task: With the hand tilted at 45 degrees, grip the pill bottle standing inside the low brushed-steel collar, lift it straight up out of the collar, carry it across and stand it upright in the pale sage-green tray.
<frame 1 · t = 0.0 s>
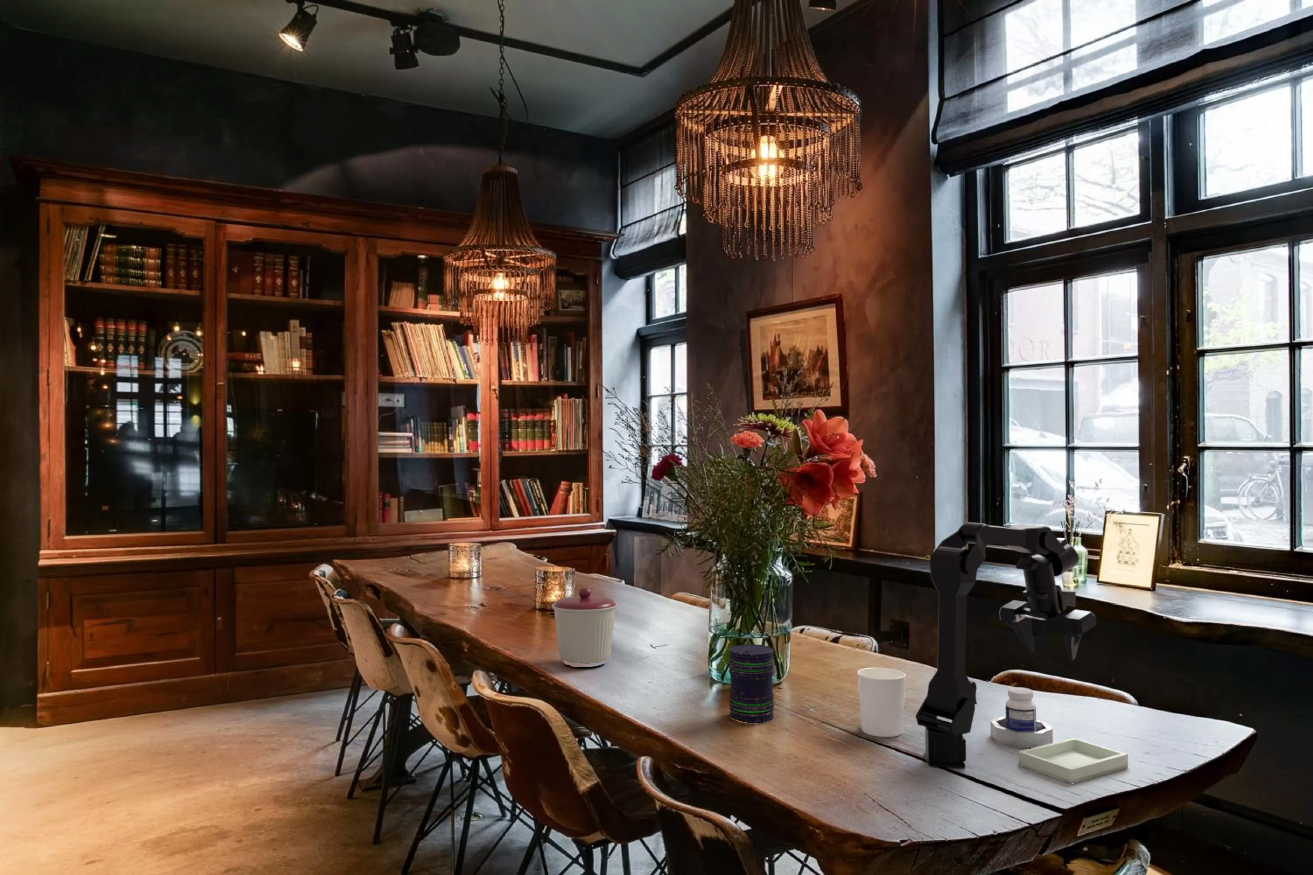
hand: (1052, 655, 187), 15 cm above the table, tool pointing down, fingers open, 9 cm apart
sage tray: (1072, 766, 165), on the table
canister: (585, 664, 247), on the table
candle holder: (881, 731, 187), on the table
storage jar: (751, 718, 197), on the table
steel collar: (1021, 739, 181), on the table
pill bottle: (1021, 740, 181), resting in steel collar
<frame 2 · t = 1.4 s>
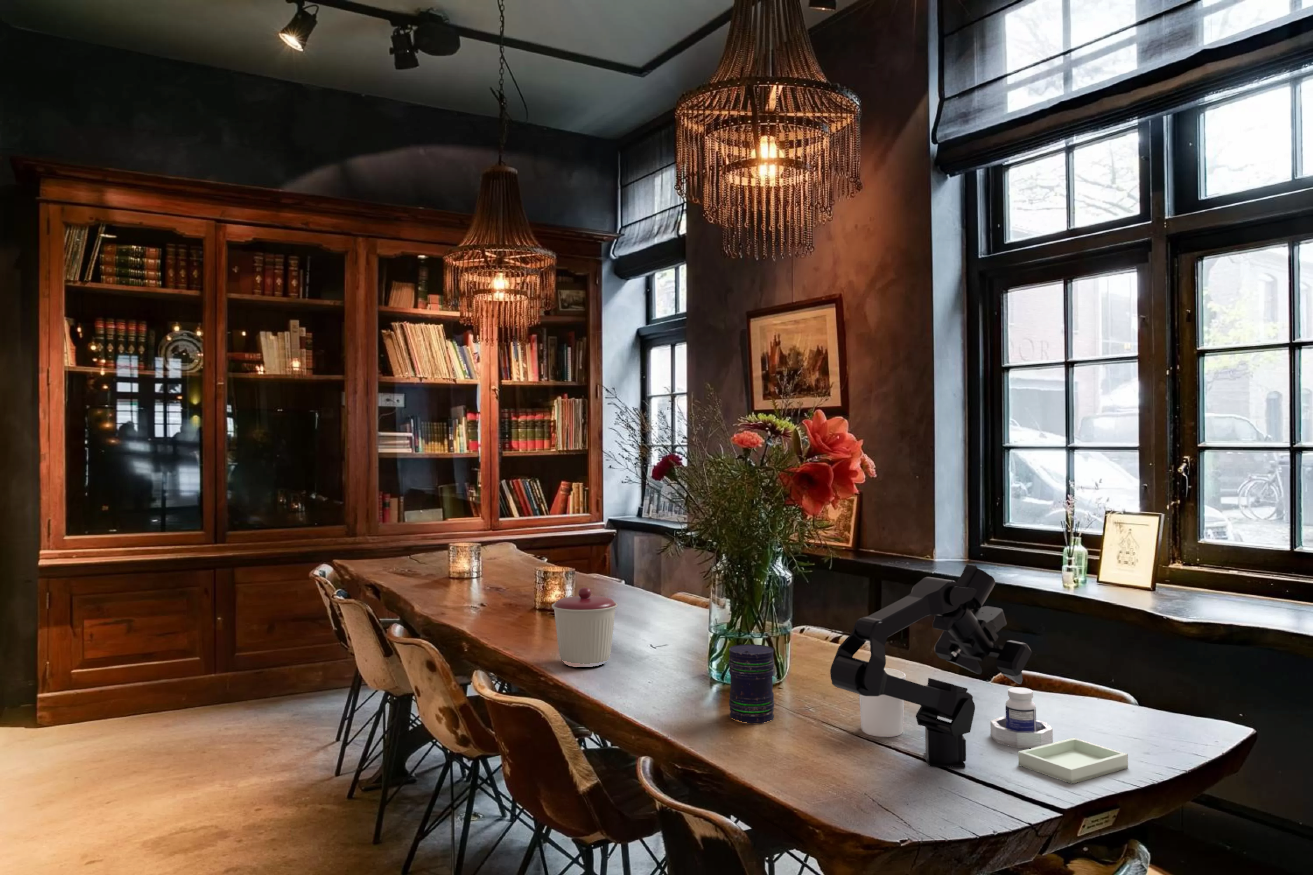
hand: (1000, 677, 177), 13 cm above the table, tool tilted 45°, fingers open, 9 cm apart
nothing on the table moved.
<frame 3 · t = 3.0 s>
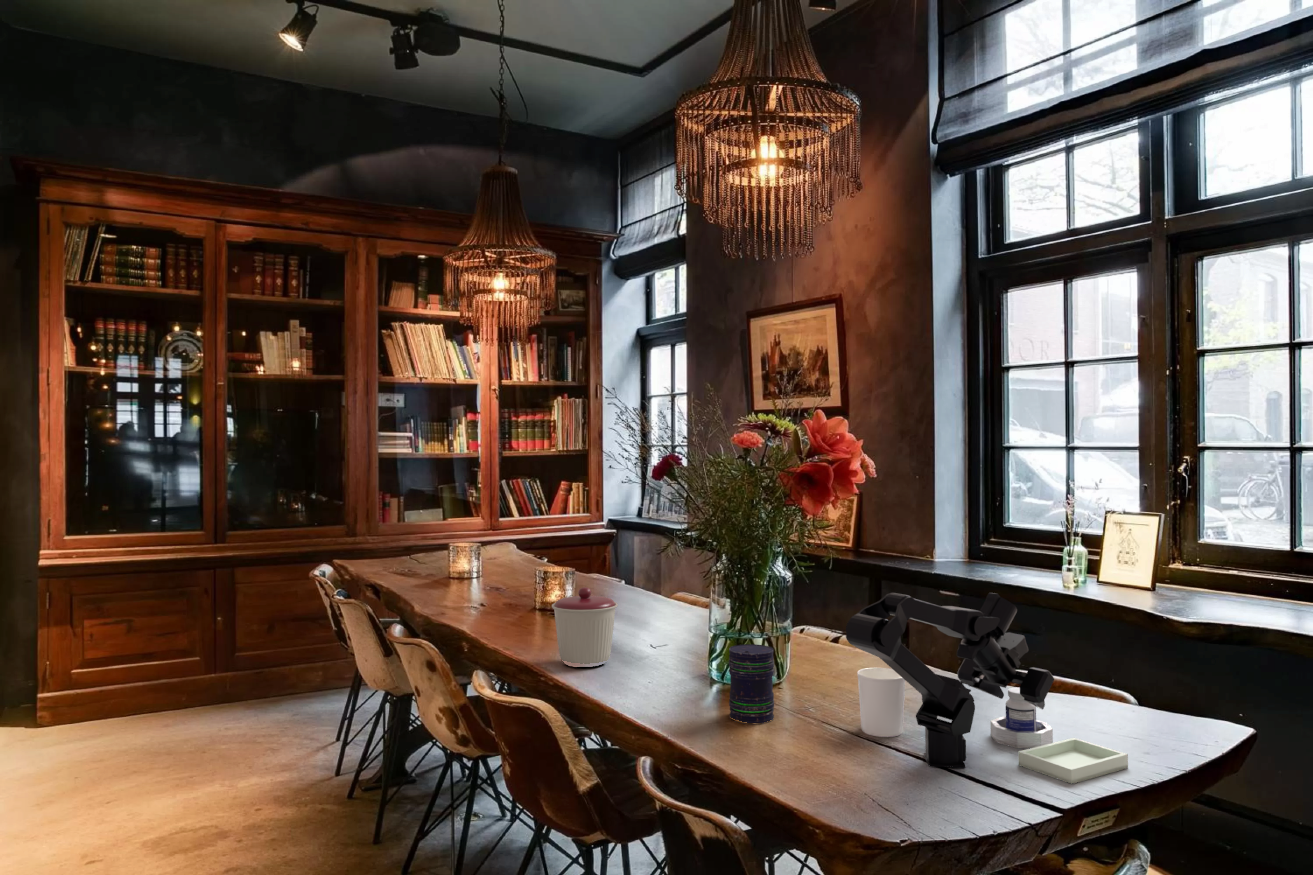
hand: (1022, 701, 181), 7 cm above the table, tool tilted 45°, fingers open, 9 cm apart
nothing on the table moved.
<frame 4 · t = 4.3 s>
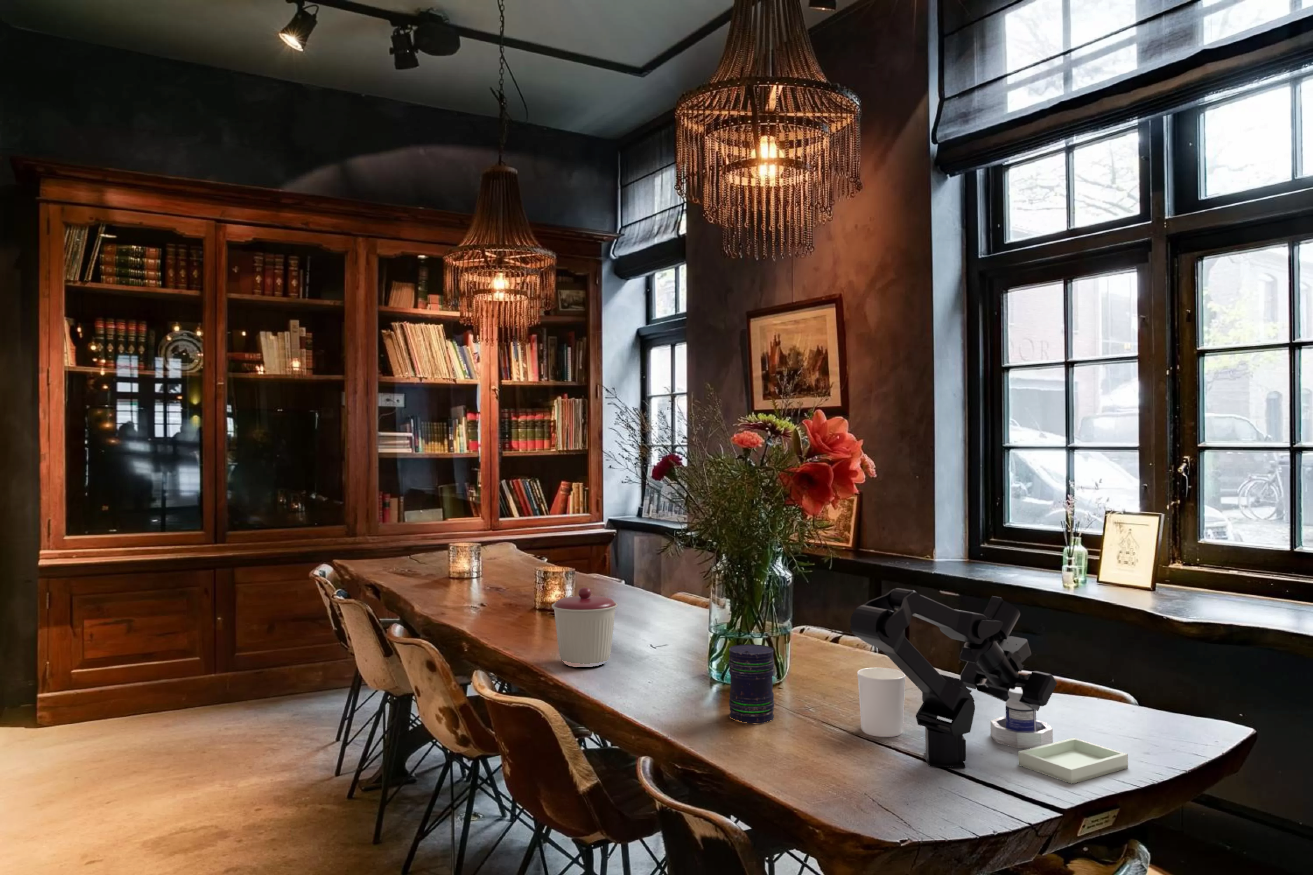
hand: (1024, 705, 182), 7 cm above the table, tool tilted 45°, fingers closed on pill bottle, 6 cm apart
pill bottle: (1021, 740, 181), resting in steel collar, touching gripper
everything else where it was.
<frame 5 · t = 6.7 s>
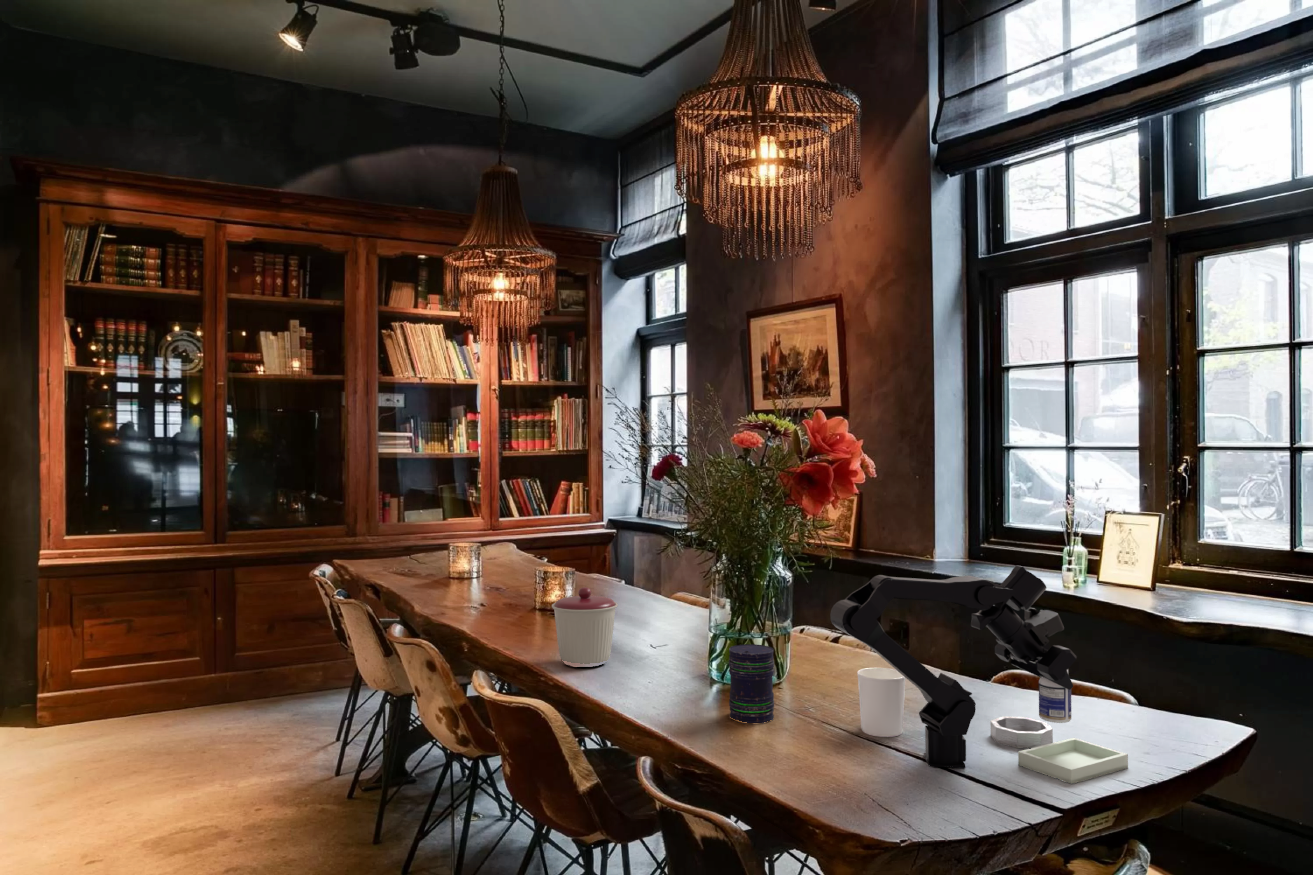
hand: (1061, 683, 172), 13 cm above the table, tool tilted 45°, fingers closed on pill bottle, 6 cm apart
pill bottle: (1054, 720, 172), point 6 cm above the table, touching gripper
everything else where it was.
when the fingers open (8 cm above the table, at t = 9.3 s): pill bottle drops 1 cm, resting on sage tray.
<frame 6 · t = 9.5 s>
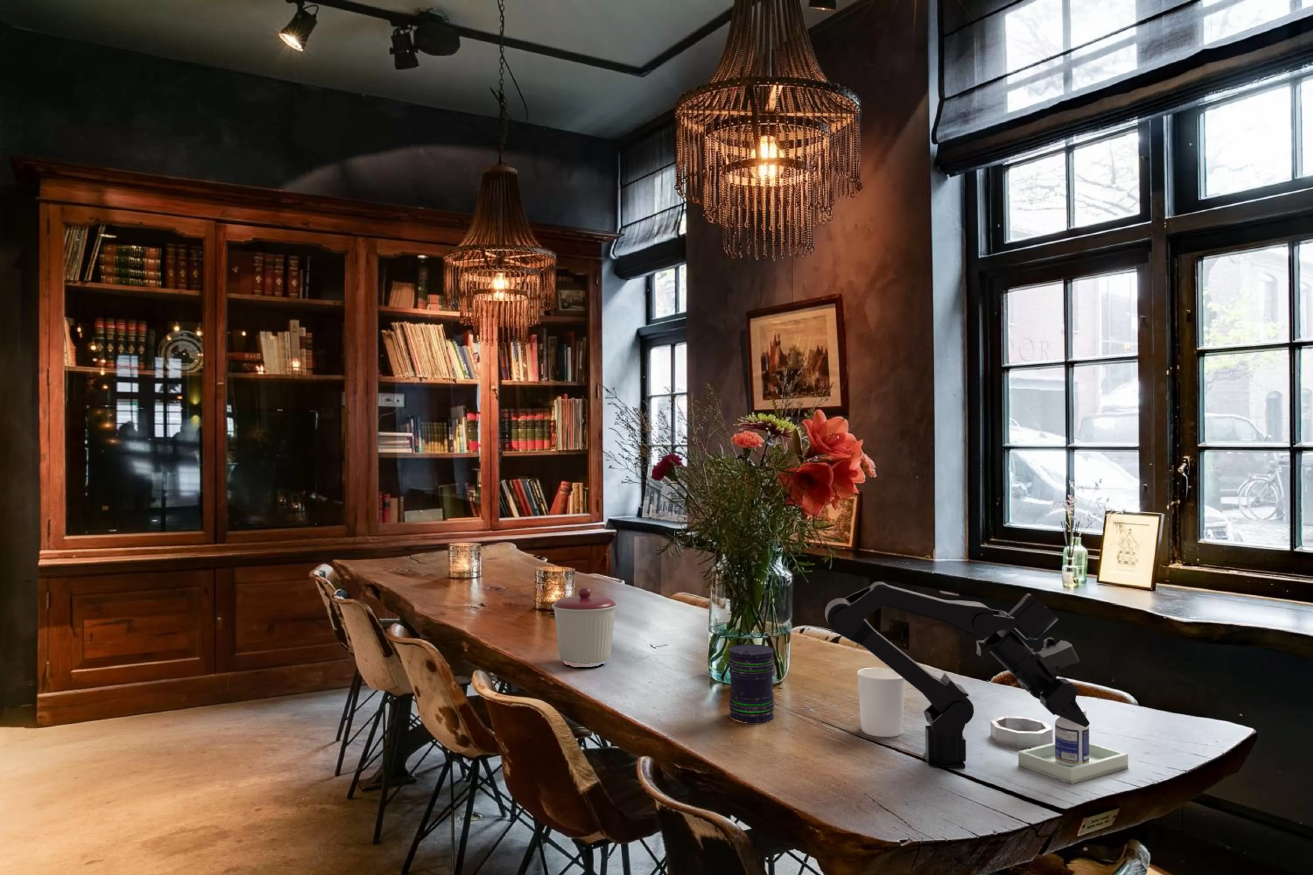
hand: (1080, 718, 165), 9 cm above the table, tool tilted 45°, fingers open, 7 cm apart
pill bottle: (1071, 763, 165), resting on sage tray
everything else where it was.
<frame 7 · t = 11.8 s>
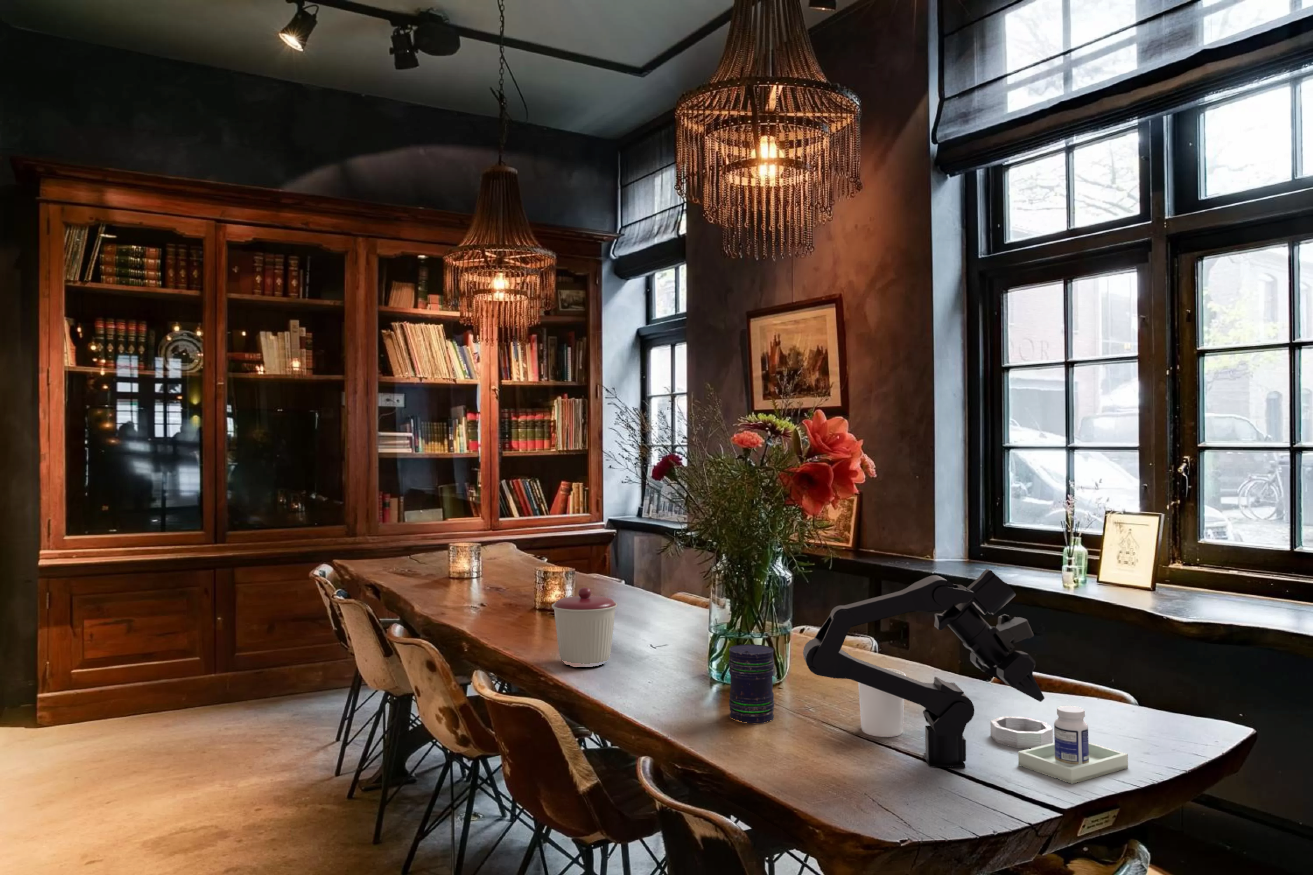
hand: (1032, 694, 167), 13 cm above the table, tool tilted 40°, fingers open, 9 cm apart
nothing on the table moved.
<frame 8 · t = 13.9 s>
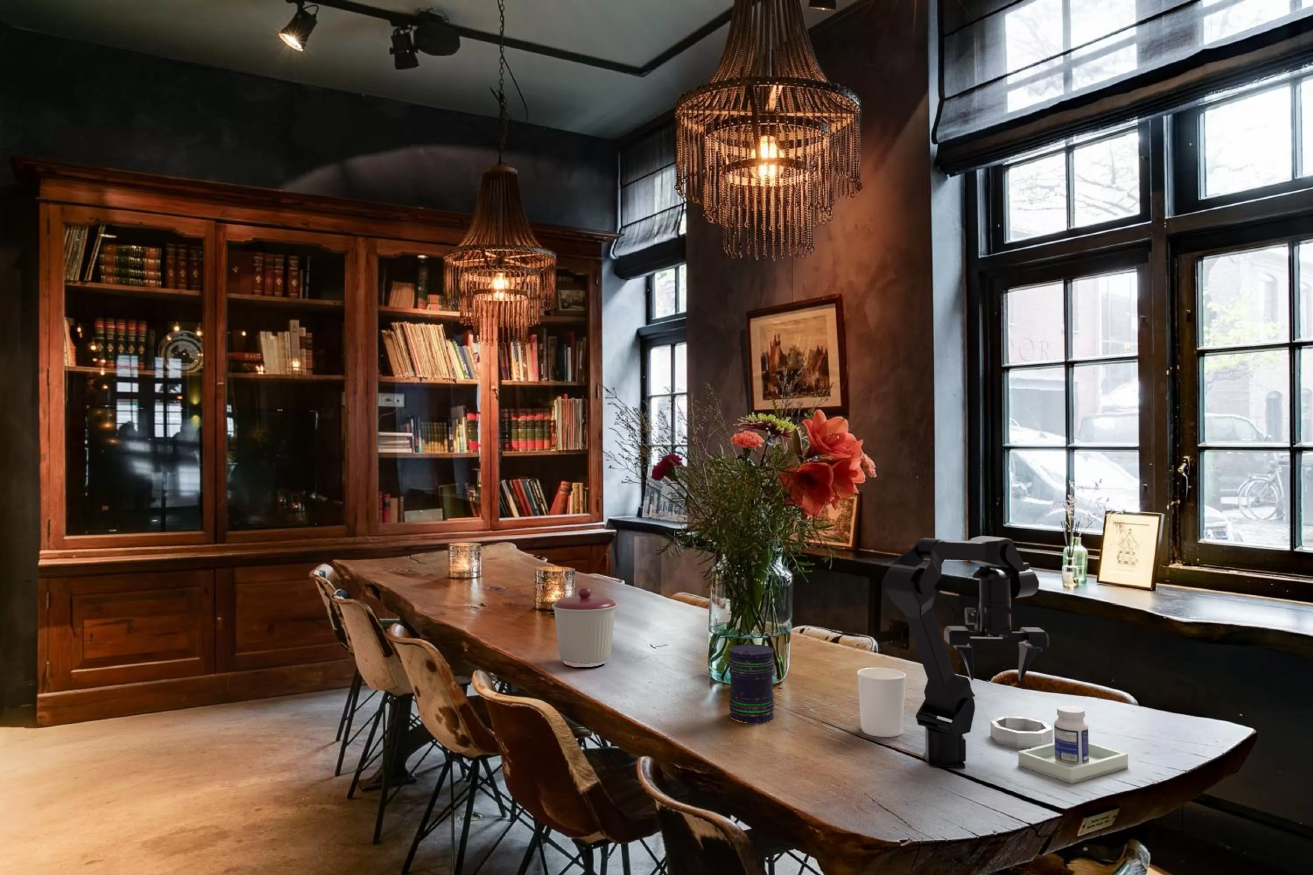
hand: (996, 680, 177), 13 cm above the table, tool pointing down, fingers open, 9 cm apart
nothing on the table moved.
at the end: pill bottle inside the target area on the sage tray (0.2 cm from its centre), point 0.4 cm above the sage tray's base; pill bottle tilted 0°; the gripper is holding nothing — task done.
